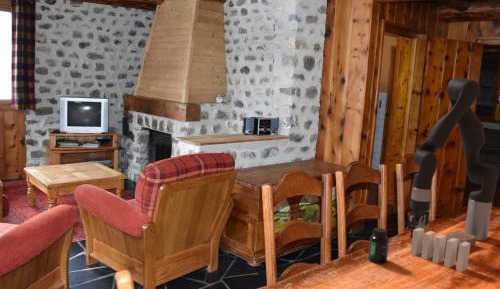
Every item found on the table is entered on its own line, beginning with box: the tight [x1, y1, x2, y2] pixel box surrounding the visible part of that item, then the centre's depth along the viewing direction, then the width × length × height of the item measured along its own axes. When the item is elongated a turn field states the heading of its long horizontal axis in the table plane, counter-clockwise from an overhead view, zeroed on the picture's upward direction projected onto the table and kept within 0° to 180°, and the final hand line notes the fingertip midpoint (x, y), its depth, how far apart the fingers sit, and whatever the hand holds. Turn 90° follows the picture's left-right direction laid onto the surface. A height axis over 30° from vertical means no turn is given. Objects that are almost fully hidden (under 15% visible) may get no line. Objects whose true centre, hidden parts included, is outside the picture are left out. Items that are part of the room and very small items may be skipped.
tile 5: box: [443, 238, 458, 269], centre depth 169 cm, size 5×2×10 cm, turn 132°
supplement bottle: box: [368, 227, 390, 265], centre depth 170 cm, size 7×7×12 cm
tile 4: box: [432, 233, 446, 264], centre depth 172 cm, size 5×2×10 cm, turn 132°
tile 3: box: [420, 230, 436, 260], centre depth 175 cm, size 5×2×10 cm, turn 132°
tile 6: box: [455, 242, 471, 273], centre depth 165 cm, size 5×2×10 cm, turn 132°
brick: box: [444, 230, 477, 253], centre depth 189 cm, size 17×8×5 cm, turn 124°
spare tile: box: [410, 221, 423, 245], centre depth 189 cm, size 5×2×10 cm, turn 132°
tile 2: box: [410, 228, 425, 257], centre depth 179 cm, size 5×2×10 cm, turn 132°
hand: (416, 237), depth 190 cm, fingers closed on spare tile, 5 cm apart
